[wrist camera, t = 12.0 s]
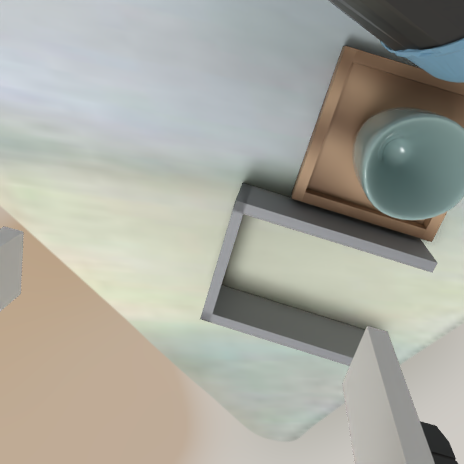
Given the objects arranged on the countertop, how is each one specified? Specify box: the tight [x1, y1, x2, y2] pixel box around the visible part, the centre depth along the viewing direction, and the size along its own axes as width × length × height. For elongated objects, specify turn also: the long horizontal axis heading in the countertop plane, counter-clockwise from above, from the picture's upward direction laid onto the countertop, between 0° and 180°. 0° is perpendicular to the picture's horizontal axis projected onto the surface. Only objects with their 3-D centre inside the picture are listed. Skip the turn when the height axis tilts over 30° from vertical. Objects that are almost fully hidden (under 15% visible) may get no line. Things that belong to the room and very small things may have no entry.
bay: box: [200, 183, 437, 366], centre depth 43 cm, size 13×18×6 cm
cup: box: [352, 107, 464, 220], centre depth 35 cm, size 8×8×10 cm
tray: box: [292, 46, 464, 242], centre depth 39 cm, size 14×14×2 cm
